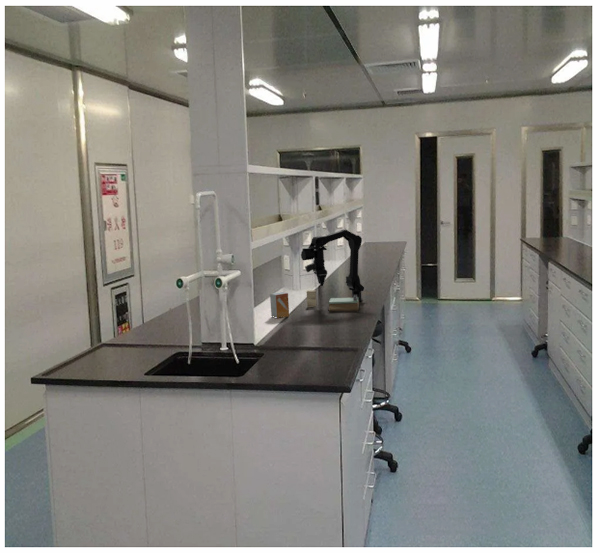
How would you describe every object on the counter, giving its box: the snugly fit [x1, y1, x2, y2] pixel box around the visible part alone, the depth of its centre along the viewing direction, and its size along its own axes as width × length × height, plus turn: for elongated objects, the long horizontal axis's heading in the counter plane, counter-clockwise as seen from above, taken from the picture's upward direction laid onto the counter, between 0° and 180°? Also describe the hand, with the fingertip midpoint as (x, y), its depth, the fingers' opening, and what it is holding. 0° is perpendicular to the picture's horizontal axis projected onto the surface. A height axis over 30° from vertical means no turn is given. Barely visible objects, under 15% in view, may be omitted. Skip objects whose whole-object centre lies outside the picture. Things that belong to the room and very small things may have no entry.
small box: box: [269, 291, 290, 319], centre depth 325 cm, size 8×6×13 cm
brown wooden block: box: [306, 289, 318, 308], centre depth 350 cm, size 4×5×9 cm
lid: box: [328, 295, 359, 305], centre depth 335 cm, size 12×16×3 cm
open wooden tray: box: [328, 300, 360, 312], centre depth 336 cm, size 12×16×4 cm
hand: (320, 284), depth 346 cm, fingers open, 9 cm apart
